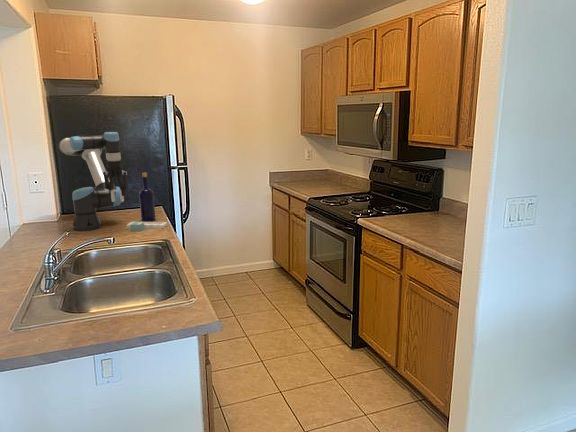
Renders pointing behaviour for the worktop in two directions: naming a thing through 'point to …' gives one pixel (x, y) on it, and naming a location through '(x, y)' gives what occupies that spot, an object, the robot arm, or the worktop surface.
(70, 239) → the worktop surface
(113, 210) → the worktop surface
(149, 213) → the bottle
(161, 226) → the slab
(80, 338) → the worktop surface
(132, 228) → the stub
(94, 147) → the robot arm
